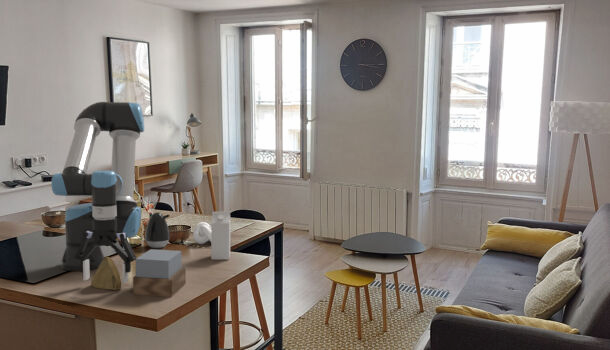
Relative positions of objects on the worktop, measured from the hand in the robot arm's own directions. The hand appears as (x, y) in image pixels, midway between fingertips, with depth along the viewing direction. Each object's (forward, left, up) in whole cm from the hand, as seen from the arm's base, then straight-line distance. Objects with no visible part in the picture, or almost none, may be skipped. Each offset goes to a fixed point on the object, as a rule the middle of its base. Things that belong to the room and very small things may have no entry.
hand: (106, 280), depth 176 cm
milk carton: (+28, +42, -3) cm, 51 cm away
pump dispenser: (-3, +53, -3) cm, 53 cm away
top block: (+18, +2, +3) cm, 18 cm away
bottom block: (+18, +2, -3) cm, 18 cm away
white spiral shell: (+15, +64, -3) cm, 66 cm away
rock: (0, 0, -3) cm, 3 cm away
